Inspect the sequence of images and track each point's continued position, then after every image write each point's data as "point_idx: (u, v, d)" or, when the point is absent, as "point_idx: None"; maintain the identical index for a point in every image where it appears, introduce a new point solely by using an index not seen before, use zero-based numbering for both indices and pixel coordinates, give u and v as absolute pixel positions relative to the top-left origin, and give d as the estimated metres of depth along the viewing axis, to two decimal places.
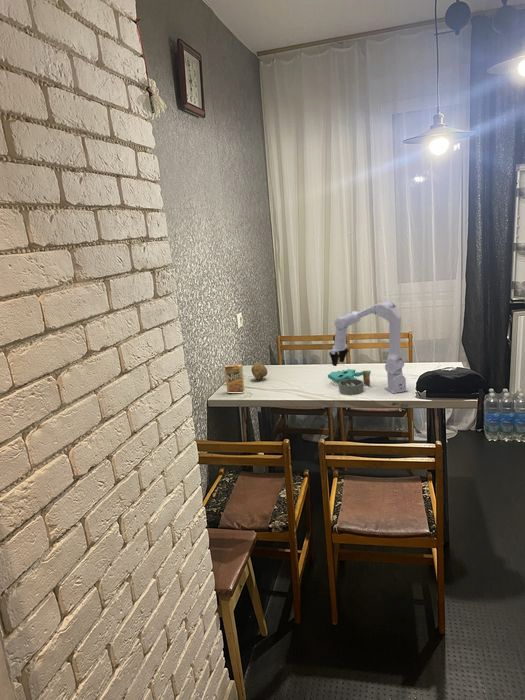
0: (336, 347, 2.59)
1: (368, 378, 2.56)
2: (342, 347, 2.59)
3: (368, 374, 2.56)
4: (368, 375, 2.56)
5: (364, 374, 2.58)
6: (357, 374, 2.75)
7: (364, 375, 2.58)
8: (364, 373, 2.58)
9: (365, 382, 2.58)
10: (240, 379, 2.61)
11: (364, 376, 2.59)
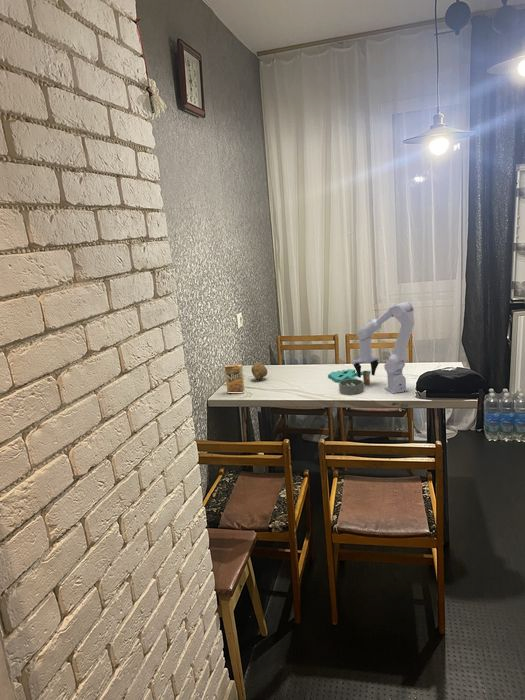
0: (360, 358, 2.56)
1: (367, 378, 2.56)
2: (364, 358, 2.53)
3: (368, 374, 2.56)
4: (368, 375, 2.56)
5: (364, 374, 2.58)
6: (357, 374, 2.75)
7: (364, 375, 2.58)
8: (364, 373, 2.58)
9: (365, 382, 2.58)
10: (240, 379, 2.61)
11: (364, 376, 2.59)
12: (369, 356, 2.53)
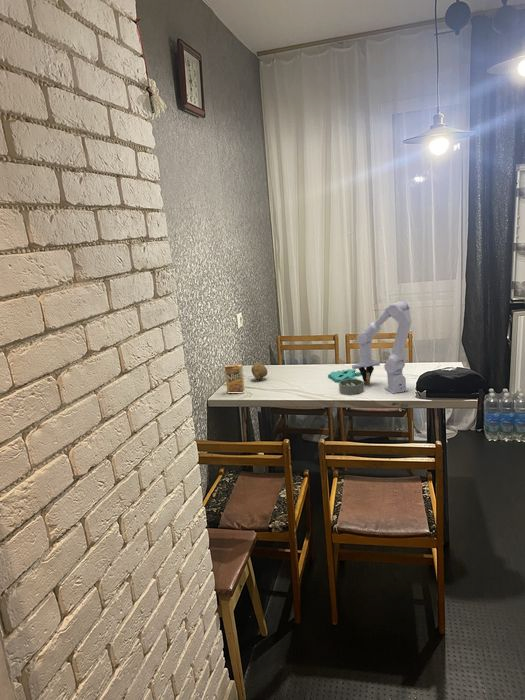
0: (360, 363, 2.56)
1: (367, 378, 2.56)
2: (365, 363, 2.54)
3: (368, 374, 2.56)
4: (368, 375, 2.56)
5: None
6: (357, 374, 2.75)
7: None
8: None
9: (365, 382, 2.58)
10: (240, 379, 2.61)
11: None
12: (369, 361, 2.54)
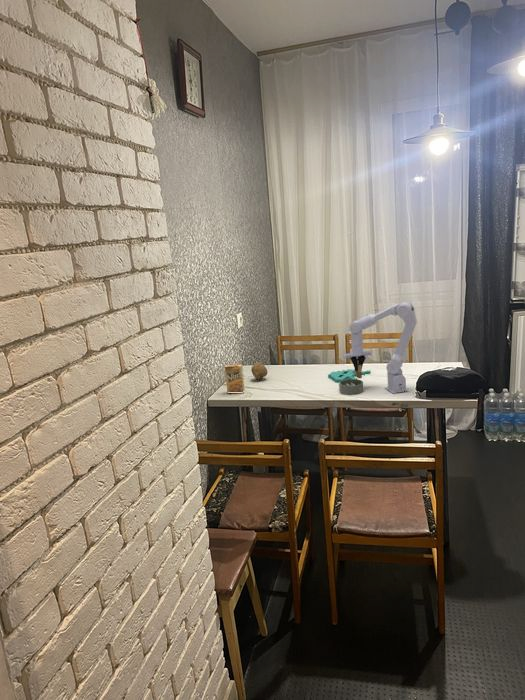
0: (352, 352, 2.51)
1: (359, 370, 2.51)
2: (356, 352, 2.48)
3: (360, 366, 2.50)
4: (360, 367, 2.51)
5: None
6: None
7: None
8: None
9: (357, 374, 2.53)
10: (240, 379, 2.61)
11: None
12: (361, 350, 2.48)
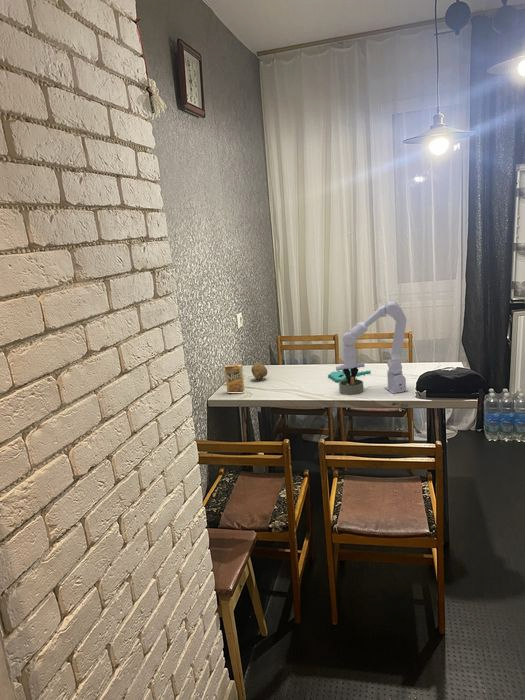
0: (344, 364, 2.48)
1: (352, 383, 2.48)
2: (349, 364, 2.46)
3: (352, 378, 2.48)
4: (352, 379, 2.48)
5: None
6: (357, 374, 2.75)
7: None
8: None
9: None
10: (240, 379, 2.61)
11: None
12: (353, 362, 2.46)
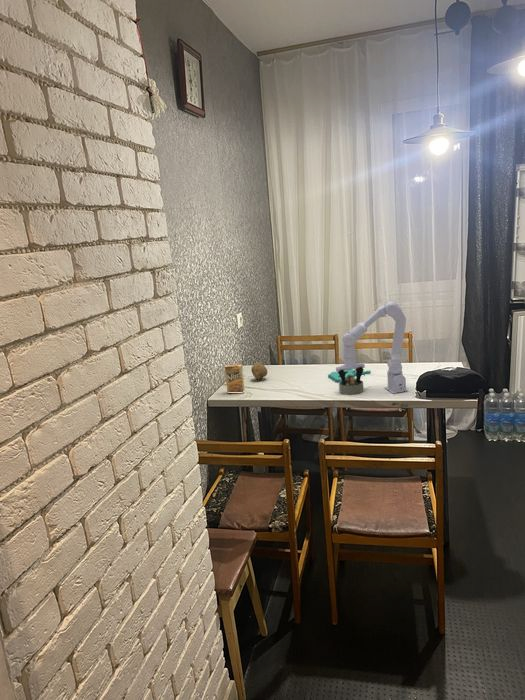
0: (344, 365, 2.48)
1: (352, 383, 2.48)
2: (349, 365, 2.46)
3: (352, 378, 2.48)
4: (352, 379, 2.48)
5: (348, 379, 2.50)
6: None
7: (349, 379, 2.50)
8: (348, 377, 2.50)
9: None
10: (240, 379, 2.61)
11: (348, 380, 2.51)
12: (354, 363, 2.46)
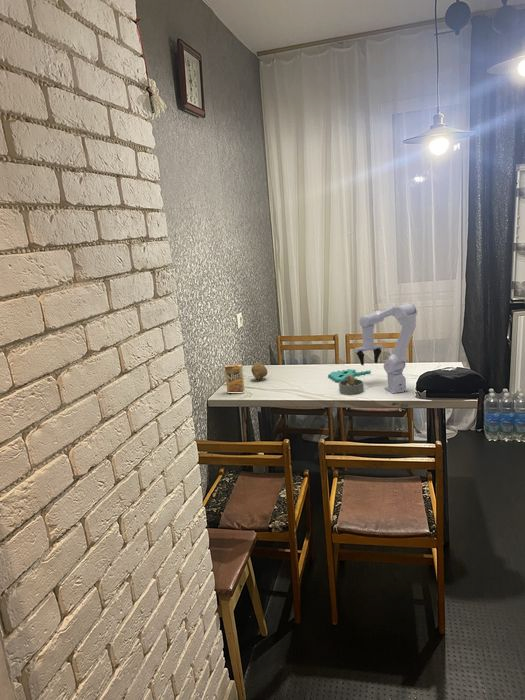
0: (363, 346, 2.57)
1: (352, 383, 2.48)
2: (367, 346, 2.54)
3: (352, 378, 2.48)
4: (352, 379, 2.48)
5: (348, 379, 2.50)
6: (357, 374, 2.75)
7: (349, 379, 2.50)
8: (348, 377, 2.50)
9: None
10: (240, 379, 2.61)
11: (348, 380, 2.51)
12: (372, 344, 2.54)
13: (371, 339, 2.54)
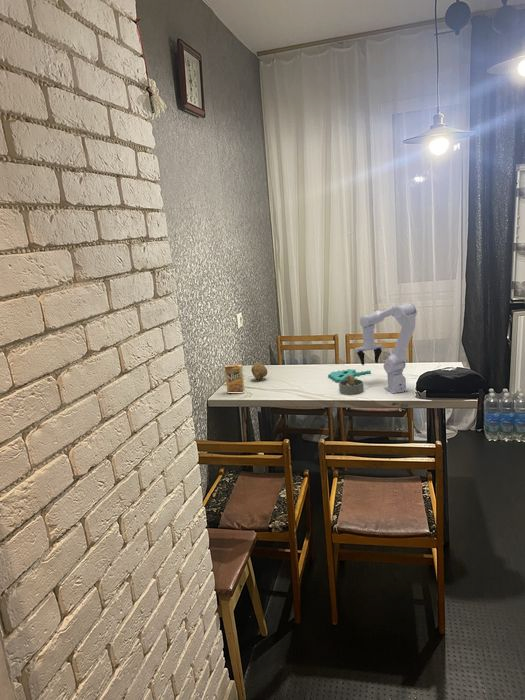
0: (363, 346, 2.57)
1: (352, 383, 2.48)
2: (368, 346, 2.55)
3: (352, 378, 2.48)
4: (352, 379, 2.48)
5: (348, 379, 2.50)
6: (357, 374, 2.75)
7: (349, 379, 2.50)
8: (348, 377, 2.50)
9: None
10: (240, 379, 2.61)
11: (348, 380, 2.51)
12: (372, 343, 2.55)
13: (371, 339, 2.54)
